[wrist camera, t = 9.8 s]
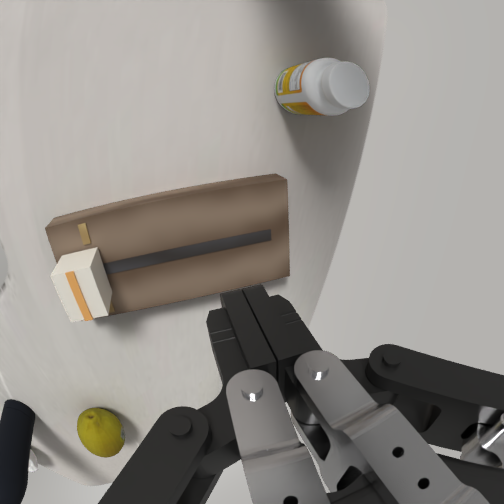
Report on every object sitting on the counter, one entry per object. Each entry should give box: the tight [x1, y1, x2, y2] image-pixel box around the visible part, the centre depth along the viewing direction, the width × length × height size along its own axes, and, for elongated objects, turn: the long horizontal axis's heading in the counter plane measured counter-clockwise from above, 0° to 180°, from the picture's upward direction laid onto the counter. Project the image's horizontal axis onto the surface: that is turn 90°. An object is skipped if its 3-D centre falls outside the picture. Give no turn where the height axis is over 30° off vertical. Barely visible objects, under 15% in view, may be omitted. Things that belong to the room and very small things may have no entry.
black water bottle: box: [0, 399, 35, 504], centre depth 21 cm, size 6×6×30 cm
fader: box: [51, 247, 112, 322], centre depth 24 cm, size 5×4×4 cm
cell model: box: [28, 449, 38, 472], centre depth 34 cm, size 10×12×7 cm
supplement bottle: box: [274, 58, 370, 116], centre depth 23 cm, size 5×5×10 cm
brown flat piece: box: [45, 174, 290, 321], centre depth 29 cm, size 11×24×3 cm, turn 95°
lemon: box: [77, 408, 125, 457], centre depth 35 cm, size 11×8×8 cm
